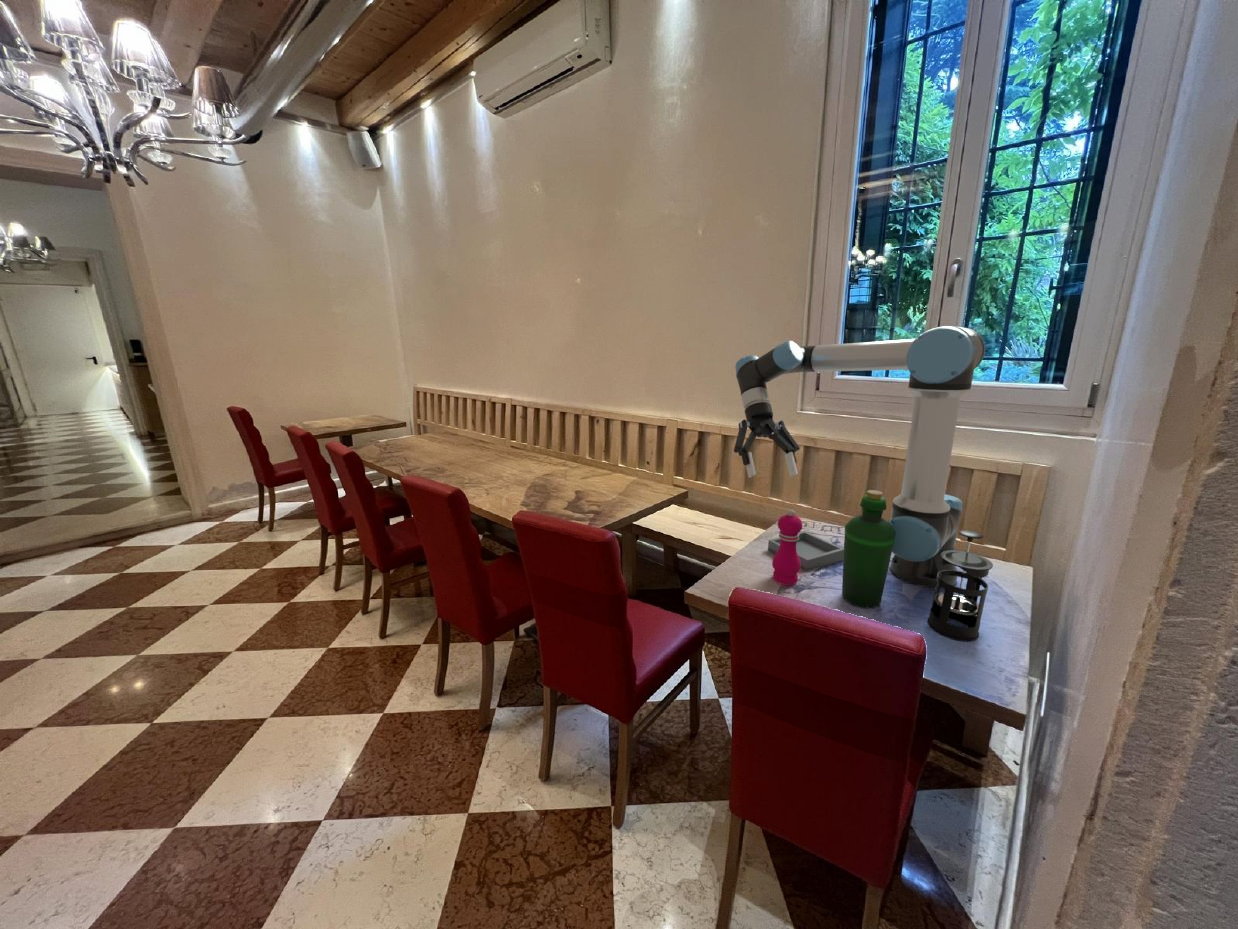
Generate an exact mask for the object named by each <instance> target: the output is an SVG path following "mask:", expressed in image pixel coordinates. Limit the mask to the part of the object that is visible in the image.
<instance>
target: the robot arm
mask: <svg viewBox="0 0 1238 929" xmlns="http://www.w3.org/2000/svg"><path fill="white" fill-rule="evenodd" d="M985 344H986V343H985V341H984V339H983V338H982V336H981V335H980V333H979V332H976V330H973V329H971V328H968V327H964V326H955V325H954V326H953V325H944V326H938V327H934V328H931V329H928V330H926V331H924V332H922V333H921V334H919V335H918V336H917V337H916V338H911V339H896V340H879V341H867V342H866V341H865V342H853V343H852V342H851V343H849V342H847V343H835V344H821V345H820V344H819V345H802V346H799V345H798V343H796V342H794V341H793V340H787V341H784V342H783V343H781V344H778V345H777V346H776V347H774V348H773V349H770V350H769V351H768V352H766V353H764V354H763V355H761V356H757V355H754V354H753V355H747V356H743V357H741V358H740V359H738V360H737V361H736V363H735V366H734V368H735V373H736V374H735V376H736V377H735V378H736V379H737V380H736V381H737V384H738V387H739V391H740V397H741V401H742V405H743V409H744V415H745V418H744V419H742V420H741V421H739V423H738V433H737V436H736V441H735V444H734V448H733V452H734V453H735V454H737V453H738V456H739V457H741V460H742V463H743V466H745V467H746V473H747V478H748V479H749V478H752V477H755V476H756V475H757V471H756V467H755V463H754V459H753V454H752V451H749V450H750V448H751V447H752V445H753V443H754V442H755V440H756V438H767V439H769V440H772V441H773V442H774V443H775V444H776V445H777V446H778V447H779V448H780V449H781V450H782V451H783V452H784V453H785V454H784V458H785V462H786V467H787V472H788V474H789V478H793V477H794V476H796V475H798V474H799V472H798V469H797V463H798V462H797V458H796V454H795V453H796V452H798V451H800V449H801V448H800V446H799V445H798V443H797V441H796V440H795V439H794V437H793V436H792V435H791V433H790V431H789V430H788V428H786V426H785V422H784V421H783V420H779V421H777V422H776V421H775V420H774V419H773V418H774V412H773V409H772V408H773V407H772V405H771V399H770V396H769V392H768V388H767V383H769V382H771V381H773V380H774V379H776V378H778V377H780V376H782V375H788V374H794V373H795V374H796V373H815V372H817V373H818V372H857V371H858V372H859V371H861V372H862V371H863V372H864V371H867V372H869V371H898V370H899V371H900V370H901V371H904V370H905V371H907V370H908V371H909V373H910V374H909V380H908V386H907V387H908V390H909V391H910V392H911V393H912V394H913V396H914V400H913V406H912V407H913V408H912V412H911V413H912V415H911V421H910V429H909V436H908V443H907V449H906V457H905V465H904V472H903V478H902V485H901V486H902V487H901V493H900V494H899V495H897V496H896V497H894V498H893V500H892V505H891V511H890V518H889V520H887V522H889V523H890V524H891V525H892V526H893V528H894V530H895V532H896V535H895V539H894V544H893V549H892V554H894V555H893V557H892V558H891V560H890V567H891V568H890V570H892V571H891V572H892V573H893V574H894V575H895V574H896V575H897V576H896V575H895V576H896V577H898V576H899V577H898V578H900V579H901V578H902V580H903V579H904V580H903V581H905V582H908V583H911V584H914V585H917V586H922V587H926V588H933V589H935V587H936V577H937V573H938V572H939V571H943V570H955V571H958V570H957V566H954V565H952V564H946V565H942V558H941V553H942V552H943V551H947V550H955V545H956V542H957V536H958V535H957V534H958V532H959V531H958V530H959V524H960V519H961V516H962V514H961V513H963V502H962V500H961V499H960V498H958V497H956V496H953V495H950V494H945V493H946V488H947V481H948V476H949V469H950V464H951V459H952V452H953V445H954V440H955V433H956V429H957V421H958V416H959V410H960V404H961V403H960V402H961V398H962V397H963V396H964V395H966V394H967V393H969V392H970V391H971V389H972V383H973V379H974V378H973V377H974V371H975V370H976V369H977V368H978V367H979V365H981V363H982V362H983V359H984V358H985V354H986V345H985ZM748 429H749V430H750V433H749V434H748V436H747V430H748ZM746 436H747V439H746ZM745 439H746V441H745ZM957 579H958V577H957V576H942V581H944V582H946V583H948V584H950V585H952V586H955V585H956V584H957ZM940 589H944V588H943V587H940Z"/></svg>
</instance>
